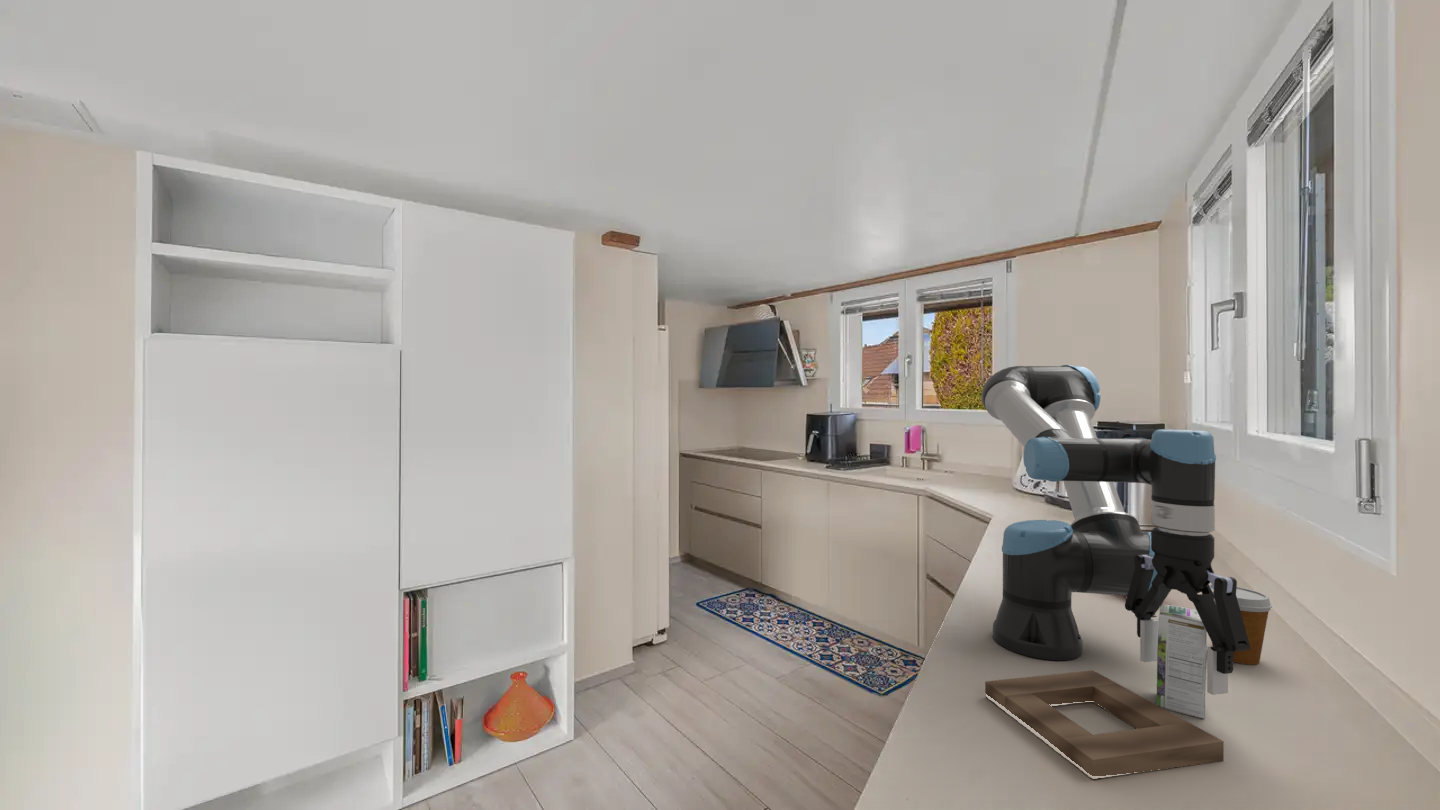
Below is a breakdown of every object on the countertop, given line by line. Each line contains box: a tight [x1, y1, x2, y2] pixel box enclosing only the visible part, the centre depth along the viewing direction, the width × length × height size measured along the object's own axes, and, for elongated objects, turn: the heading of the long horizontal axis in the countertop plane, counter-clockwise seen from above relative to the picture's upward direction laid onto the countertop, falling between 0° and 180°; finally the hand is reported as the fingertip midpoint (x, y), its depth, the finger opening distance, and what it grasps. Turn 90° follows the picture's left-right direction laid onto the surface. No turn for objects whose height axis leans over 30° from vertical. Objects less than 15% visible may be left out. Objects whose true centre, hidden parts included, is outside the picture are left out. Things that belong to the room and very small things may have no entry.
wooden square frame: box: [984, 669, 1225, 776], centre depth 81 cm, size 20×20×2 cm
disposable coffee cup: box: [1209, 584, 1273, 666], centre depth 104 cm, size 10×10×12 cm
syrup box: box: [1156, 603, 1208, 720], centre depth 86 cm, size 6×6×14 cm
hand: (1181, 675), depth 86 cm, fingers open, 10 cm apart
